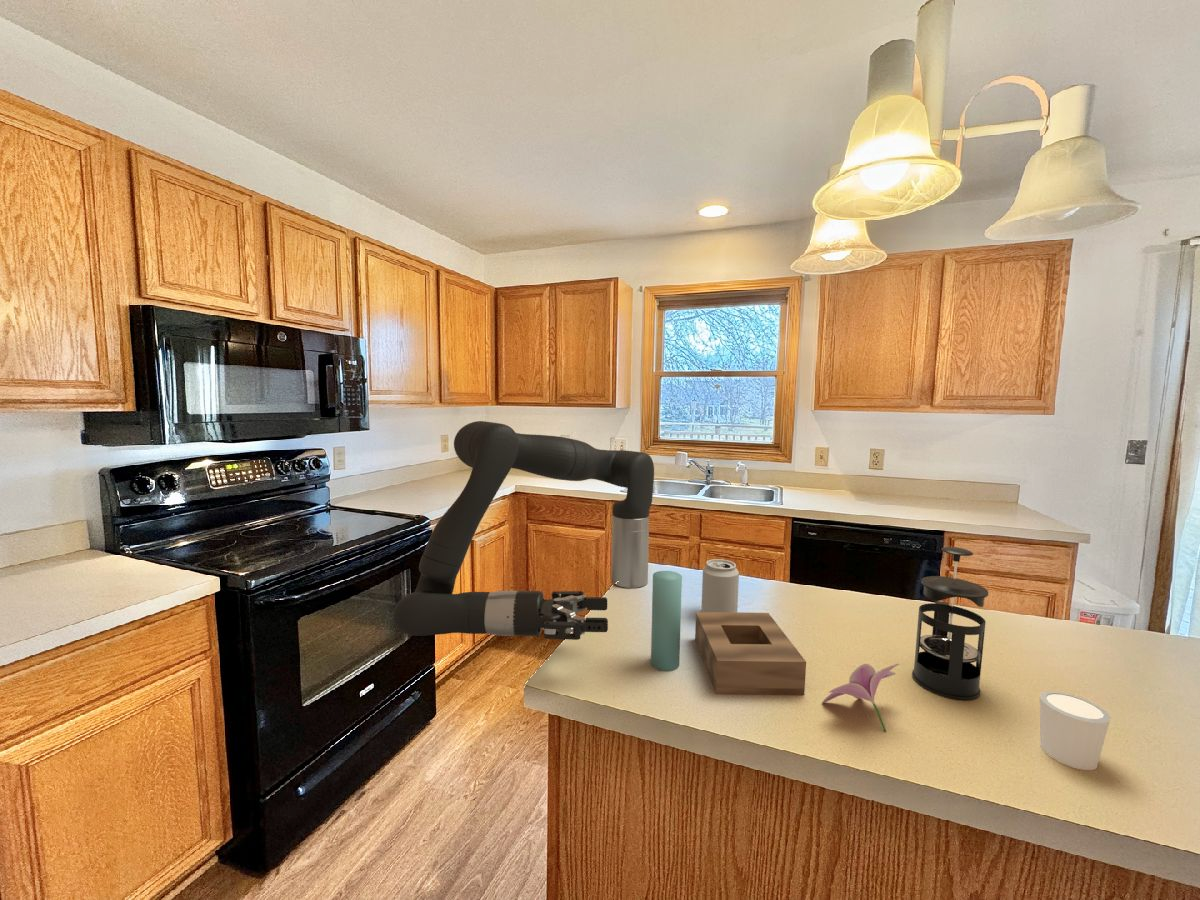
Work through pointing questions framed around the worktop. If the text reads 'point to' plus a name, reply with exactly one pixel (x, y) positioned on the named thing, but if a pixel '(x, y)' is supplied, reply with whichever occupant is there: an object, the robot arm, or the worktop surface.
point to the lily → (863, 685)
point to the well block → (748, 654)
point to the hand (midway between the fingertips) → (607, 613)
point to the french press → (950, 637)
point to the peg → (666, 620)
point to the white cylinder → (1072, 729)
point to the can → (720, 586)
